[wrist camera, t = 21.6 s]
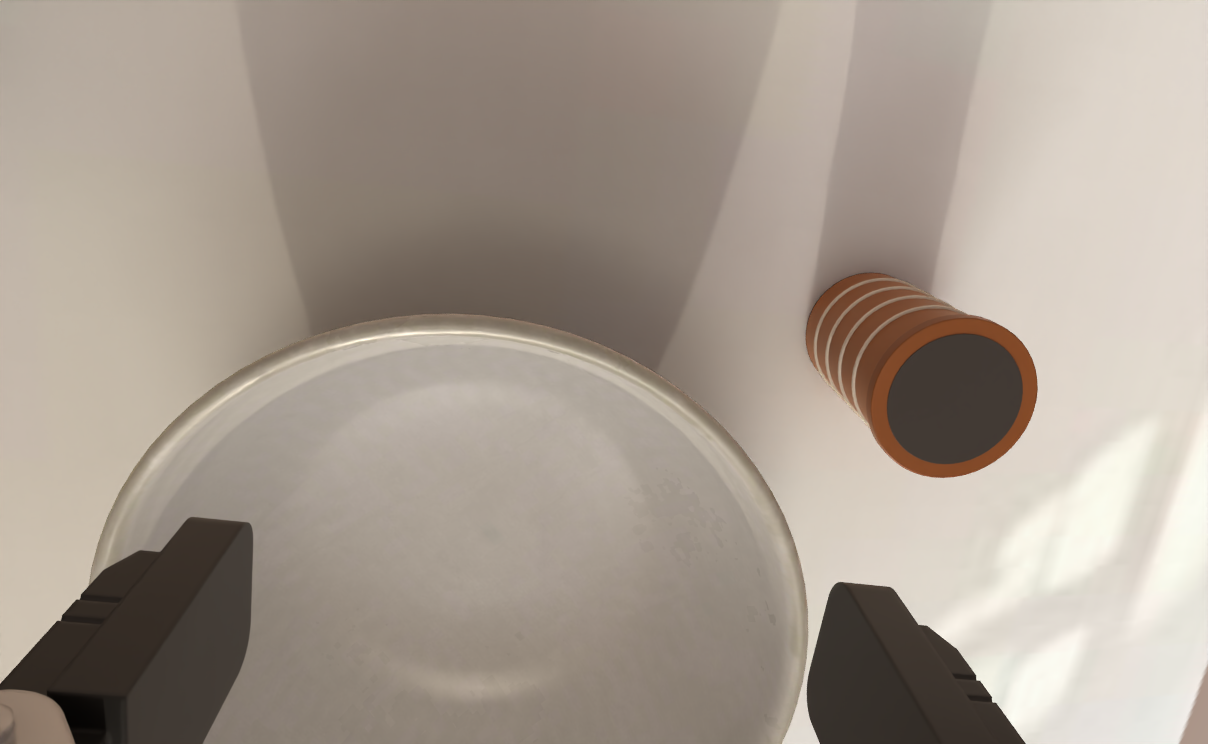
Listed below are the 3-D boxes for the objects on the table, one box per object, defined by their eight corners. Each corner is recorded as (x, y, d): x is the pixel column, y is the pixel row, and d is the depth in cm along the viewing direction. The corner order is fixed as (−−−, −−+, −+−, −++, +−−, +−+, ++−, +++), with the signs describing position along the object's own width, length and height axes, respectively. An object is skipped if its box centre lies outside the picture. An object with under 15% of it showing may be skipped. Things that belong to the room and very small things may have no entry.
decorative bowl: (851, 463, 45) (954, 592, 33) (538, 811, 51) (534, 1025, 39) (406, 130, 39) (345, 149, 27) (105, 570, 44) (-50, 739, 33)
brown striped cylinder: (944, 276, 42) (910, 401, 44) (815, 257, 42) (786, 385, 43) (1060, 330, 33) (1011, 487, 34) (894, 307, 32) (853, 468, 34)
